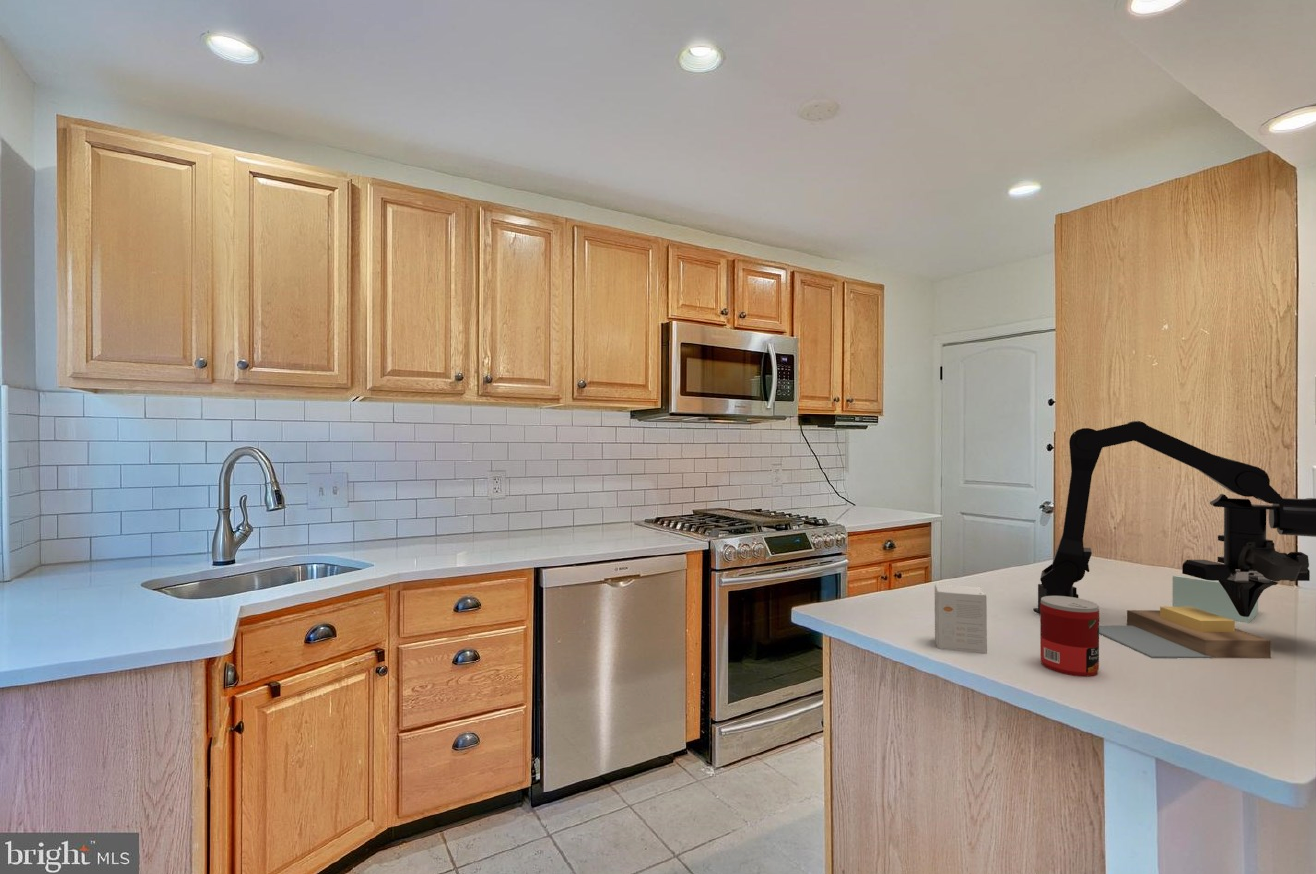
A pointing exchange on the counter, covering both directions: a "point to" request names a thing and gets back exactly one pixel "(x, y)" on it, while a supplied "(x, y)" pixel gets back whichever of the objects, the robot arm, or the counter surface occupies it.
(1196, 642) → the brown flat block
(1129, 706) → the counter surface
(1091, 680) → the counter surface
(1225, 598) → the right angle wall
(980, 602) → the small box
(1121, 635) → the mat
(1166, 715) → the counter surface
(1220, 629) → the yellow flat block
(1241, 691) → the counter surface
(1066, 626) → the canned food
